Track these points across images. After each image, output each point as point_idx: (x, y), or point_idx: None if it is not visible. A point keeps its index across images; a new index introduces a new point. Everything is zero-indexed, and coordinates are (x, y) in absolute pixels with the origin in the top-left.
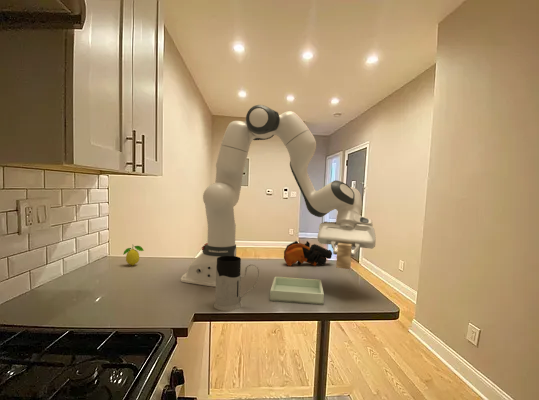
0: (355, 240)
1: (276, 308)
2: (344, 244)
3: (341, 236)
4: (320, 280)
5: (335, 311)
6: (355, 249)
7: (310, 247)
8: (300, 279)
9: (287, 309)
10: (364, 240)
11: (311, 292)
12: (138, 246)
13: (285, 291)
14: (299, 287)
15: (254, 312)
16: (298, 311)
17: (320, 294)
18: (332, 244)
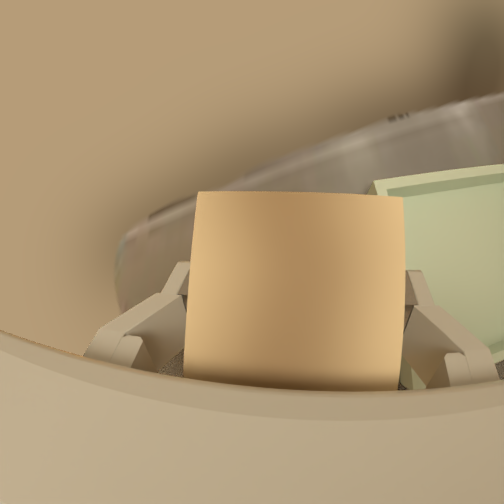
0: (102, 377)
1: (477, 126)
2: (298, 264)
3: (377, 471)
4: (415, 378)
5: (313, 155)
6: (157, 298)
7: None
8: (495, 353)
9: (451, 126)
10: (2, 351)
11: (431, 295)
12: None
13: (499, 165)
14: (480, 335)
15: (499, 94)
16: (420, 120)
17: (386, 179)
18: (468, 338)
